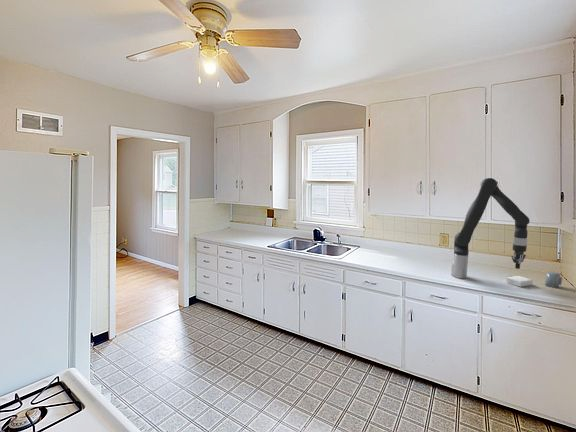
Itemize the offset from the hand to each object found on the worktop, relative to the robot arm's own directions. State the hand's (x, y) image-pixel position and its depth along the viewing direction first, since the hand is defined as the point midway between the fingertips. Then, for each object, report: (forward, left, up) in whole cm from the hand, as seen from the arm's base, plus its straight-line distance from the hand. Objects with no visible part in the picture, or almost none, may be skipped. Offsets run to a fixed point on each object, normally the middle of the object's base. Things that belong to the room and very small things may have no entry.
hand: (517, 268), depth 207 cm
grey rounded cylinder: (+13, +17, -11) cm, 24 cm away
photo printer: (0, -4, -9) cm, 10 cm away
